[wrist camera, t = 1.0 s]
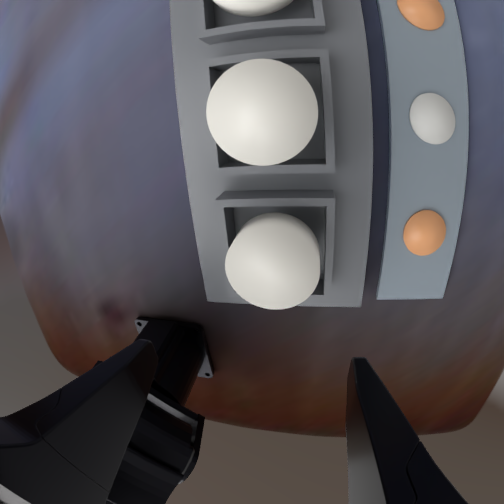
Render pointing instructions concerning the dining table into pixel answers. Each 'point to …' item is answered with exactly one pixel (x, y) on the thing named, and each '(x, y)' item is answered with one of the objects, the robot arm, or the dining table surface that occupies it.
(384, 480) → the robot arm
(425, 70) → the pattern card
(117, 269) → the dining table surface
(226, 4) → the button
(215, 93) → the button middle
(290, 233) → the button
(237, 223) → the button board
